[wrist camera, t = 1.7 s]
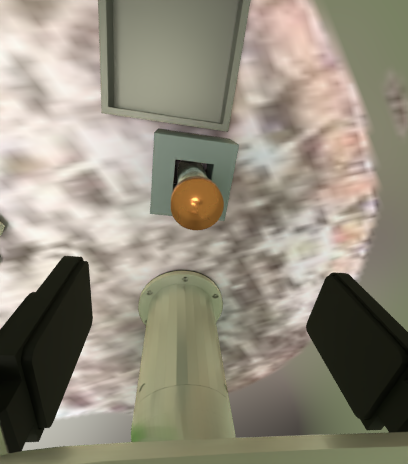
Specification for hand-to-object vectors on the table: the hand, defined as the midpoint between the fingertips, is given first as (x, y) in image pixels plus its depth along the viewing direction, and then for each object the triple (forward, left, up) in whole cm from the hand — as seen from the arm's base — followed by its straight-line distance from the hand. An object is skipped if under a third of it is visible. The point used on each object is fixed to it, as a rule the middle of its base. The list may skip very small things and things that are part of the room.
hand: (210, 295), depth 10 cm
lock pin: (0, 0, -22) cm, 22 cm away
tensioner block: (0, 0, -22) cm, 22 cm away
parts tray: (+11, +3, -22) cm, 25 cm away
